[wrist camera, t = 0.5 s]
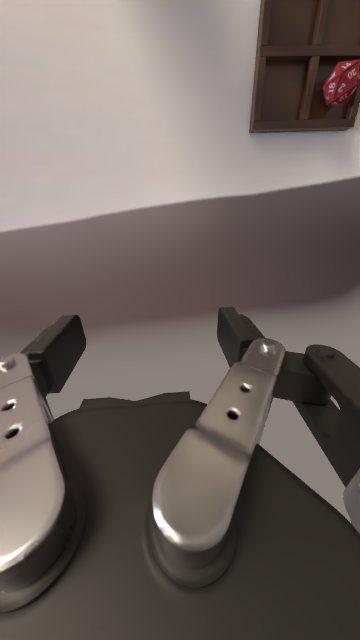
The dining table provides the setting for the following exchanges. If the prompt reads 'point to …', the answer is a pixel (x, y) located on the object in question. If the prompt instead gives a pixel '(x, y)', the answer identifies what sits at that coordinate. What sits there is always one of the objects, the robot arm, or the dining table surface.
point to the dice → (342, 83)
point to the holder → (303, 64)
